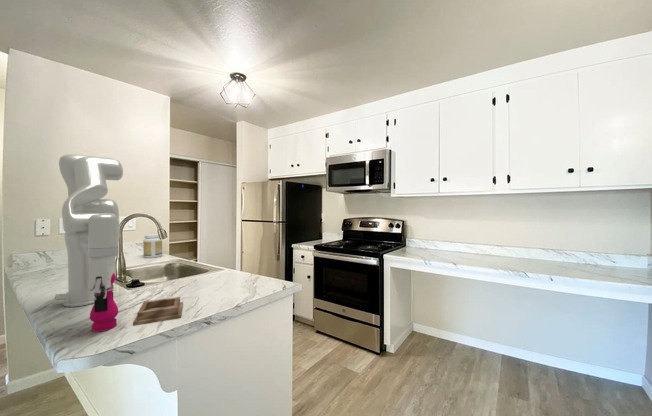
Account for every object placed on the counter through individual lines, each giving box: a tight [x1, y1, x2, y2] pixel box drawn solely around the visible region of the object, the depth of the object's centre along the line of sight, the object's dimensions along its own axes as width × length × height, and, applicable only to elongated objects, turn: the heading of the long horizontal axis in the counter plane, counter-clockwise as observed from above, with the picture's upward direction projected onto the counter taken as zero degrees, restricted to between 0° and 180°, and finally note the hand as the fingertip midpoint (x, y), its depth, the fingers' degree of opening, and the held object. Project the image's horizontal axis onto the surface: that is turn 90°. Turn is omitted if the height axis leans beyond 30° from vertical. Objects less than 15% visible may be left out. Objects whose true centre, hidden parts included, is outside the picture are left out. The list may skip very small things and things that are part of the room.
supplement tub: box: [142, 233, 163, 259], centre depth 205 cm, size 12×12×17 cm
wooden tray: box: [132, 296, 184, 326], centre depth 98 cm, size 14×14×4 cm
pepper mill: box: [89, 273, 119, 333], centre depth 87 cm, size 7×7×20 cm
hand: (104, 307), depth 87 cm, fingers closed on pepper mill, 5 cm apart
